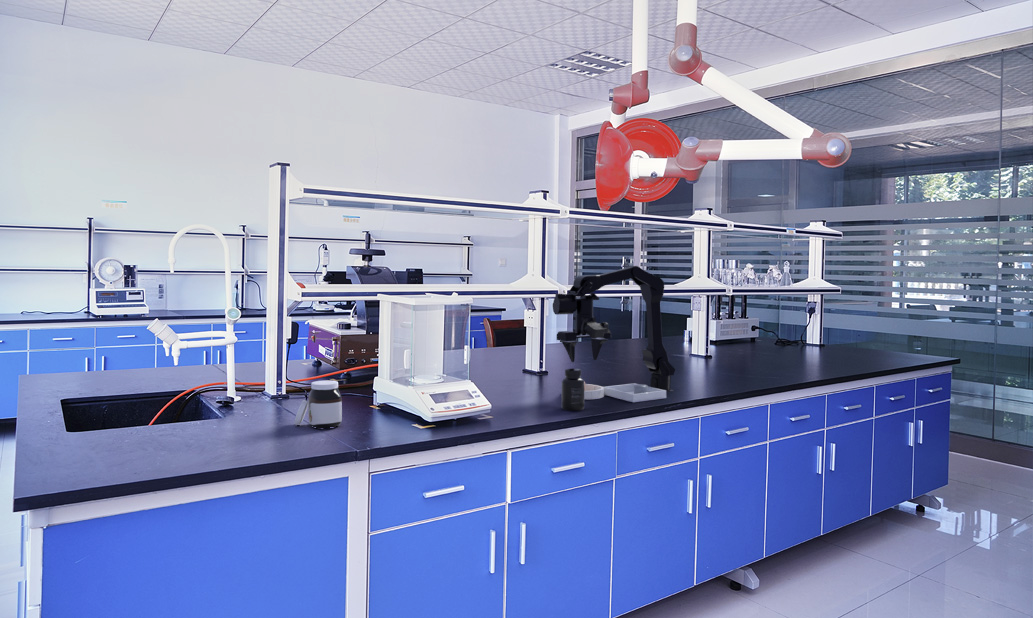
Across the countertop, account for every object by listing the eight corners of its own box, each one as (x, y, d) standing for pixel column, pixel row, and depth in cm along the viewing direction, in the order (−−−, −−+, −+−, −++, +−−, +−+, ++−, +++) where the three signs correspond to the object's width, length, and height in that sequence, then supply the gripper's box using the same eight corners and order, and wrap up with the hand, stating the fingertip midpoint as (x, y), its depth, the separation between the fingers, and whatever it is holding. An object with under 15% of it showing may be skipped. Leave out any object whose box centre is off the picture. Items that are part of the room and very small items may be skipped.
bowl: (586, 392, 227) (586, 382, 227) (611, 398, 216) (611, 388, 215) (554, 395, 220) (555, 386, 220) (579, 402, 209) (579, 392, 208)
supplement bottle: (586, 407, 201) (587, 368, 201) (581, 412, 195) (581, 371, 194) (564, 405, 204) (565, 367, 203) (558, 410, 197) (559, 370, 197)
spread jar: (345, 428, 173) (345, 384, 172) (301, 434, 166) (301, 388, 166) (331, 419, 183) (331, 377, 182) (289, 424, 177) (288, 380, 176)
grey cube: (641, 395, 218) (641, 383, 218) (650, 398, 214) (650, 386, 214) (631, 397, 215) (631, 385, 215) (640, 399, 212) (640, 387, 212)
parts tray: (634, 392, 228) (634, 383, 228) (666, 399, 215) (666, 390, 215) (602, 395, 220) (602, 386, 220) (633, 404, 207) (633, 394, 207)
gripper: (576, 316, 206) (576, 366, 207) (622, 314, 216) (621, 361, 217) (555, 314, 216) (555, 362, 217) (600, 312, 226) (600, 357, 227)
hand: (584, 360), depth 219 cm, fingers open, 9 cm apart
